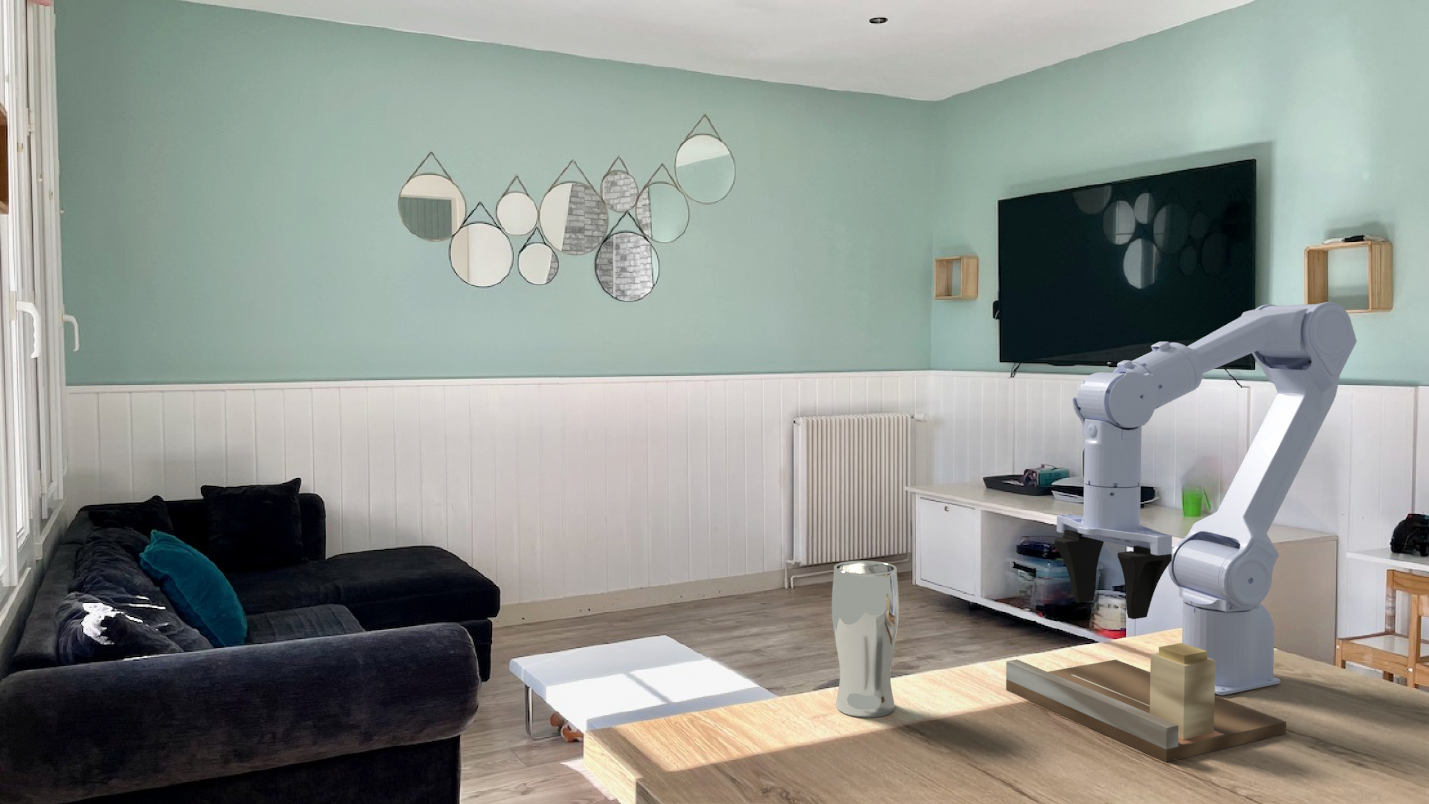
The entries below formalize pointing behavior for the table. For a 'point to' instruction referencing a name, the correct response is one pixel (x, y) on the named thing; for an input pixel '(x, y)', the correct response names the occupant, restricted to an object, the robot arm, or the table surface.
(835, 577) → the beer glass
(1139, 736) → the board
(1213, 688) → the tan block
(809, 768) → the table surface
